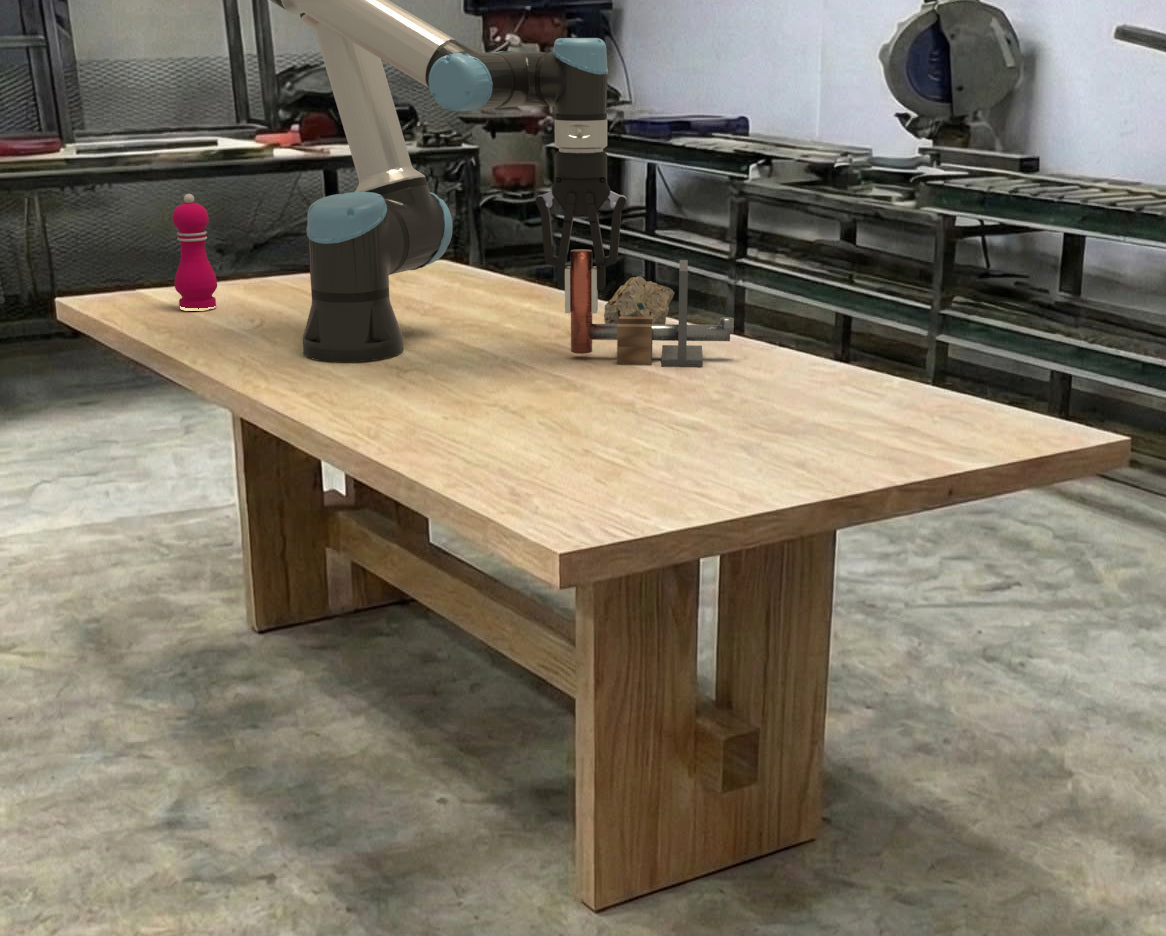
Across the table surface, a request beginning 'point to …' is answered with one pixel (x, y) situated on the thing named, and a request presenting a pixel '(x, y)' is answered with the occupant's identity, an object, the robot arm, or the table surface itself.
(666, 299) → the rock
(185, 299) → the pepper mill
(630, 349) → the cradle
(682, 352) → the eye bracket
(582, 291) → the hook
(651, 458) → the table surface
